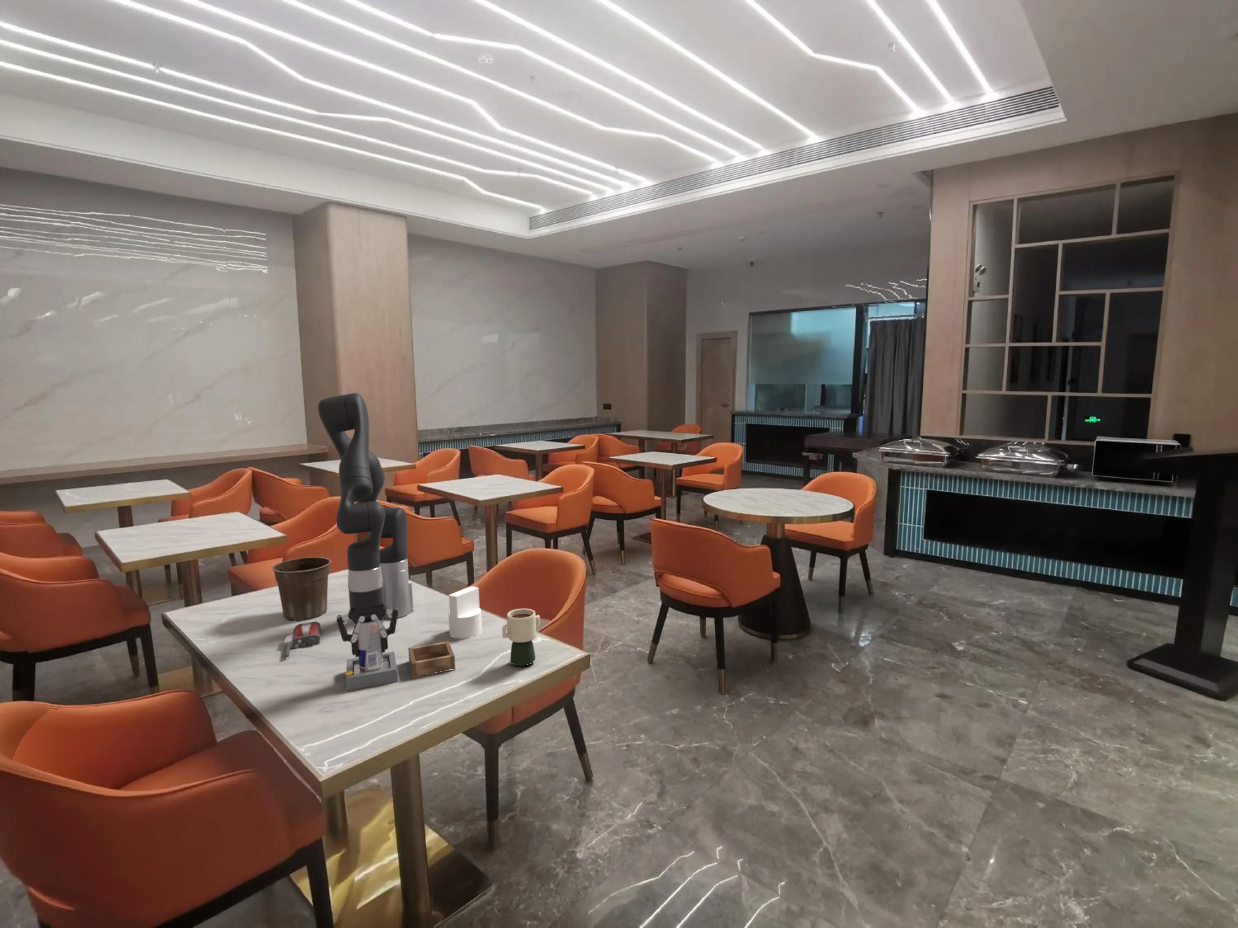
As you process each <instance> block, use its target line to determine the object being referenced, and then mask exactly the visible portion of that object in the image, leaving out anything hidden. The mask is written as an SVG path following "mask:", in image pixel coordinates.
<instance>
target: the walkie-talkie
mask: <svg viewBox="0 0 1238 928" xmlns="http://www.w3.org/2000/svg"><path fill="white" fill-rule="evenodd" d="M321 637H322V636H321V622H319V621H310V622H303V623H298V624H297V625H296V626H294V629H293V631H292V633H291V634H289V635H287V636H285V638H284V641H283V649H284V650H285V651H284V657H285V658H289V657H290V651H291V649H298V648H303V647H305V648H306V647H309V646H315V645H320V643H321Z"/></svg>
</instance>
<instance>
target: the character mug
mask: <svg viewBox="0 0 1238 928" xmlns="http://www.w3.org/2000/svg"><path fill="white" fill-rule="evenodd" d="M540 627H541V617H540V615H539V614H537V615H536V611H535V610H533V609H530V608H518V609H517V608H516V609H513V610H510V611H508V612H507V613H506V624H504V625H502V627H501V632H502V633H501V634H502V638H503V639H509V641H511V642H512V643H511V648H510V659H509V661H510V662H509V663H511V664H512V665H515V666H521V667H522V666H523V665H527V664H530V663H532V662H533V661H534V660H535V661H536V652H535V647H534V642H533V640H534V639H535V638H536V637H537V629H538V628H540ZM532 664H533V663H532ZM530 665H531V664H530ZM523 667H524V666H523Z"/></svg>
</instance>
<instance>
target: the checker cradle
mask: <svg viewBox="0 0 1238 928" xmlns="http://www.w3.org/2000/svg"><path fill="white" fill-rule="evenodd" d="M382 655H383V659H385V658H388V662H389V669H383V670H378V671H372V672H367V673H361V674H355V675H354V664H356V663H359V657H353V658H348V659H346V671H345V676H346V677H345V680H346V691H347V692H349V691H355V690H359V689H364V688H369V687H375V686H380V685H386V684H391V683H397V682H398V679H399V678H398V677H399V676H398V668H397V667H398V666H397V660H396V655H395V651H390V652H389V651H388V652H383V653H382ZM396 681H397V682H396Z"/></svg>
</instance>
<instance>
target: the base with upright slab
mask: <svg viewBox="0 0 1238 928" xmlns="http://www.w3.org/2000/svg"><path fill="white" fill-rule="evenodd" d="M479 589H480V588H479V587H477V586H468V587H466V588H463V589H461V590H459V591H456V592H453V593H451V594H450V593H449V594H448V600H449V612H448V627H449V628H448V630H449V636H450V635H451V636H453V637H452V638H454V637H455V638H454V639H461V638H462V639H467V638H466V637H471V636H474V637H476V636H475V635H477V634H479V635H481V633H482V632H483V621H482V609H481V608H480V590H479ZM481 631H482V632H481ZM451 636H450V637H451ZM477 636H478V635H477ZM471 638H472V637H471Z"/></svg>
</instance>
